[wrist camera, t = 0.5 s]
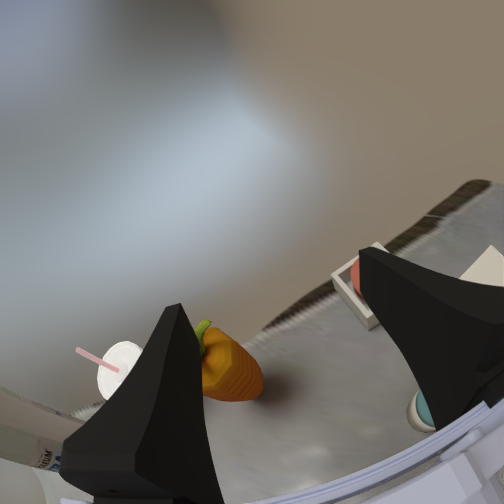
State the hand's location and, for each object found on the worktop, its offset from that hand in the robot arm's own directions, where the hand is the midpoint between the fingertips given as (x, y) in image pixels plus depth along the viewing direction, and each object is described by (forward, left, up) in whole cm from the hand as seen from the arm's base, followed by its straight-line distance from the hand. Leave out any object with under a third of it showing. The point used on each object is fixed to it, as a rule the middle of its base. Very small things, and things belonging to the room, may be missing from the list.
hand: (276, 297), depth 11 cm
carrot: (+4, +6, -18) cm, 20 cm away
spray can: (+3, +24, -18) cm, 31 cm away
